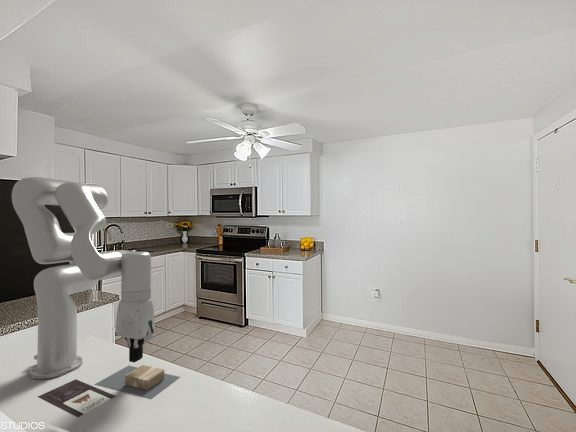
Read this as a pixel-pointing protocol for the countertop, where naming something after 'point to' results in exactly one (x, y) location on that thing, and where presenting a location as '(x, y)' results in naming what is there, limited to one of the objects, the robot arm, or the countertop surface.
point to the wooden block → (144, 377)
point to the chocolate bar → (76, 397)
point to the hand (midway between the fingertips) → (136, 359)
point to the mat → (118, 383)
